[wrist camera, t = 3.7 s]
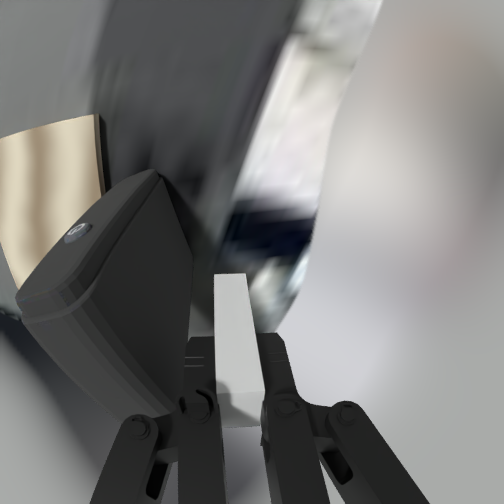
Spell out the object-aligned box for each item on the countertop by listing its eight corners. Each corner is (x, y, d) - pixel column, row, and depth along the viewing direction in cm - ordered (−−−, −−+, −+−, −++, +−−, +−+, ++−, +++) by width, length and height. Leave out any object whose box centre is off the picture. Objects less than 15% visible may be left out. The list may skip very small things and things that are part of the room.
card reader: (113, 177, 19) (-7, 304, 7) (159, 159, 19) (63, 279, 6) (155, 273, 24) (120, 434, 11) (198, 262, 24) (190, 431, 11)
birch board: (98, 113, 17) (93, 114, 16) (129, 308, 26) (127, 315, 25) (-14, 143, 15) (-20, 146, 14) (30, 303, 24) (27, 309, 23)
